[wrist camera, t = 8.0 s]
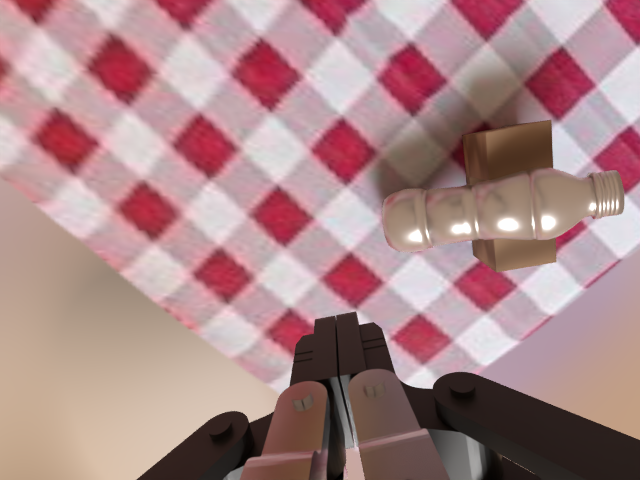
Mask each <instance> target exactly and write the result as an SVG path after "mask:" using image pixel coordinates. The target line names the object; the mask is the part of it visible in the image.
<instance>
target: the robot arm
mask: <svg viewBox="0 0 640 480" xmlns="http://www.w3.org/2000/svg"><path fill="white" fill-rule="evenodd" d="M336 319H337V321H336ZM293 362H294V364H293V367H292V374H291V380H290V387H289V388H287V389H286V390H285V391H284V392H283V393H282V394H281V395H280V396H279V398H278V401H277V404H276V407H275V410H274V412H272V413H271V414H269V415H267V416H265V417H263V418H260V419H258V420H255V421H253V422H251V423H249V421H248V418H247V416H246V415H245V414H243V413H241V412H237V411H231V412H225V413H222V414H220V415H217V416H215V417H213V418H212V419H210V420H209V421H208V422H206V423H205V424H204V425H203V426H201V427H200V428H199V429H198V430H196V431H195V432H194V433H193V434H192V435H190V436H189V437H188V438H187V439H185V440H184V441H183V442H182V443H181V444H179V445H178V446H177V447H176V448H174V449H173V450H172V451H171V452H170V453H168V454H167V455H166V456H165V457H164V458H162V459H161V460H160V461H159V462H157V463H156V464H155V465H154V466H153V467H151V468H150V469H149V470H148V471H146V472H145V473H144V474H143V475H142V476H140V477H139V478H138V479H137V480H348V475H347V469H346V465H345V464H346V450H345V449H348V448H354V439H353V434H354V438H355V442H356V446H357V447H359V452H360V457H361V462H362V466H363V472H364V476H365V480H640V440H638V439H636V438H633V437H631V436H628V435H626V434H623V433H621V432H618V431H616V430H613V429H611V428H608V427H606V426H603V425H601V424H598V423H596V422H593V421H591V420H588V419H586V418H583V417H581V416H578V415H576V414H573V413H571V412H568V411H566V410H563V409H561V408H558V407H556V406H553V405H551V404H548V403H546V402H543V401H541V400H538V399H536V398H533V397H531V396H528V395H526V394H523V393H521V392H518V391H516V390H514V389H511V388H508V387H506V386H503V385H501V384H499V383H496V382H494V381H491V380H489V379H486V378H483V377H481V376H479V375H476V374H472V373H467V372H454V373H449V374H446V375H444V376H442V377H440V378H439V379H438V380H437V381H436V382H435V383H434V385H433V389H423V388H416V387H412V386H409V385H407V384H405V383H403V382H402V381H400V380H399V378H398V377H397V376H396V374H395V371H394V368H393V364H392V361H391V358H390V354H389V351H388V348H387V344H386V341H385V338H384V334H383V331H382V328H380V327H379V326H378V325H376V324H375V323H374V322H372V323H367V324H362V325H359V322H358V318H357V313H356V312H351V313H346V314H341V315H336V317H335V316H331V317H325V318H320V319H315V326H314V334H310V335H305V336H302V338H301V339H300V340H299V342H298V343H297V344H296V348H295V356H294V361H293ZM503 456H504V457H503ZM505 457H506V458H505ZM507 458H508V459H509V460H508V459H507ZM510 460H511V461H510ZM512 461H513V462H512ZM514 462H515V463H514ZM516 463H517V464H518V465H517V464H516ZM519 465H520V466H519ZM521 466H522V467H521ZM523 467H524V468H523ZM526 469H528V470H529V471H528V470H526ZM530 471H531V472H530ZM532 472H533V473H534V474H533V473H532ZM535 474H536V475H535Z"/></svg>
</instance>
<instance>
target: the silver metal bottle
mask: <svg viewBox="0 0 640 480" xmlns="http://www.w3.org/2000/svg"><path fill="white" fill-rule="evenodd" d="M623 209H624V190H623V185H622V181H621V178H620V175H619V173H618V172H617V171H616V170H614V171H612V170H611V171H606V172H600V173H596V172H593V173H588V174H587V177H586V178H578V177H576V176H573V175H571V174H568V173H566V172H563V171H560V170H556V169H553V168H548V167H536V168H531V169H527V170H526V171H520V172H517V173H514V174H510V175H507V176H504V177H500V178H497V179H493V180H489V181H484V182H479V183H476V184H474V185H471V184H470V185H465V186H460V187H448V188H437V189H428V190H426V189H403V190H400V191H397V192H394V193H392V194H390V195H389V196H388V197H387V198H386V199H385V200H384V202H383V206H382V223H383V230H384V234H385V237H386V240H387V243H388V244H389V246H390V247H391V248H393V249H395V250H397V251H399V252H411V253H412V252H417V251H421V250H426V249H429V248H432V247H433V246H439V245H445V244H451V243H457V242H463V241H471V240H478V239H484V240H491V239H518V240H532V239H536V240H549V239H552V238H555V237H558V236H560V235H562V234H563V233H565V232H566V231H568V230H569V229H571V228H572V227H573V226H575V225H576V224H577V223H578V222H580V221H581V220H582V219H583V218H585V217H588V216H592V218H593V219H599V218H602V217H605V216H613V215H619V214H622V212H623Z"/></svg>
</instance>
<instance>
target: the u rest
mask: <svg viewBox="0 0 640 480" xmlns="http://www.w3.org/2000/svg"><path fill="white" fill-rule="evenodd" d="M462 138H463V148H464V159H465V170H466V181H467V185H470V184H471V185H474V184H476V183H479V182H484V181H489V180H493V179H497V178H500V177H504V176H507V175H510V174H514V173H517V172H520V171H526V170H527V169H531V168H536V167H548V168H553V154H552V126H551V120H547V121H540V122H532V123H524V124H517V125H512V126H507V127H501V128H496V129H491V130H486V131H481V132H476V133H471V134H466V135H462ZM472 245H473V255H474V256H475V257H476V258H478V259H479V260H480V261H482V262H483V263H485V264H486V265H487V266H489V267H490V268H491V269H493V270H494V271H496V272H501V271H507V270H513V269H518V268H524V267H530V266H536V265H542V264H548V263H553V262H556V239H555V238H552V239H549V240H536V239H532V240H518V239H491V240H484V239H478V240H472Z"/></svg>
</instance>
